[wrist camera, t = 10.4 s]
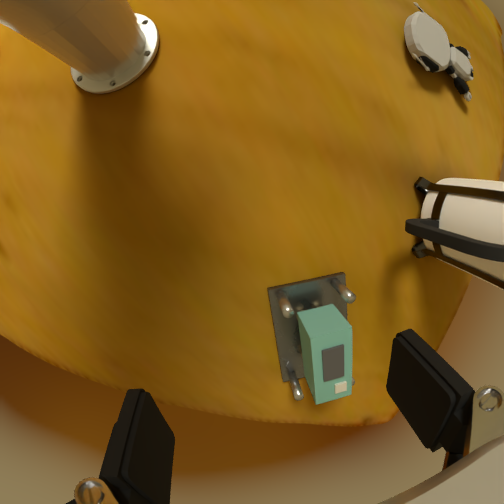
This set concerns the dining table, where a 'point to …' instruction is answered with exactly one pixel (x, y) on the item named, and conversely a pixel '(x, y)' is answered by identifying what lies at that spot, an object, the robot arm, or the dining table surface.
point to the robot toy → (437, 50)
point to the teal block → (326, 352)
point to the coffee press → (462, 226)
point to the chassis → (286, 320)
